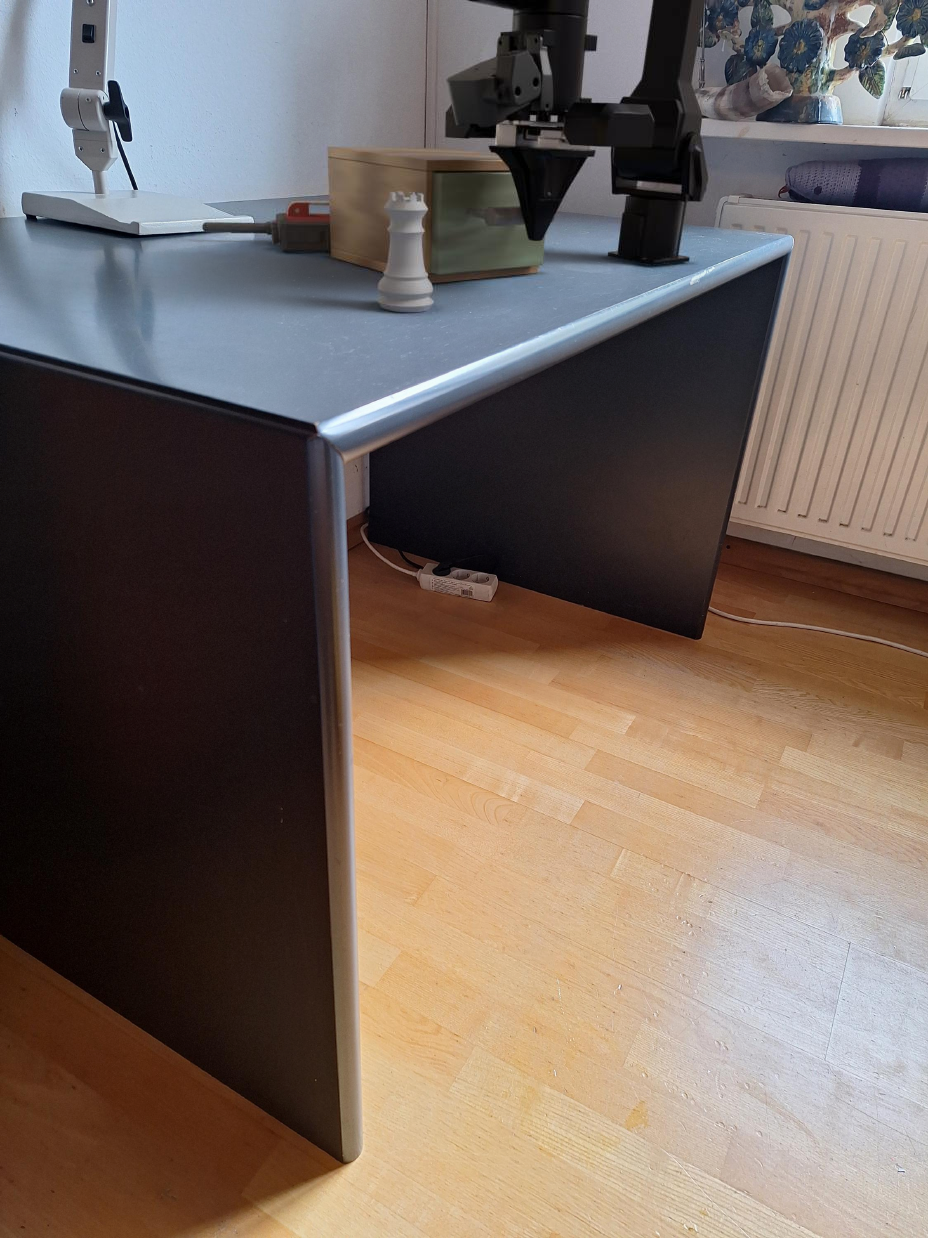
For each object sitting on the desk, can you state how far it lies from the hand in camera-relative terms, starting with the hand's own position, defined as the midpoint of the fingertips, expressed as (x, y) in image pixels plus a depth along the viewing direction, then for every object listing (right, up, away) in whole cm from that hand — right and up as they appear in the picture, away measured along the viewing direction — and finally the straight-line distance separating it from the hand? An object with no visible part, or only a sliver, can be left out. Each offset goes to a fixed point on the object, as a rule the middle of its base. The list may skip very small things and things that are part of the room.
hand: (535, 240), depth 73 cm
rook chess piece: (-11, -8, -6) cm, 15 cm away
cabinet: (-9, +3, +11) cm, 15 cm away
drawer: (-7, +2, +8) cm, 11 cm away
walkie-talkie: (-23, +7, +18) cm, 30 cm away
